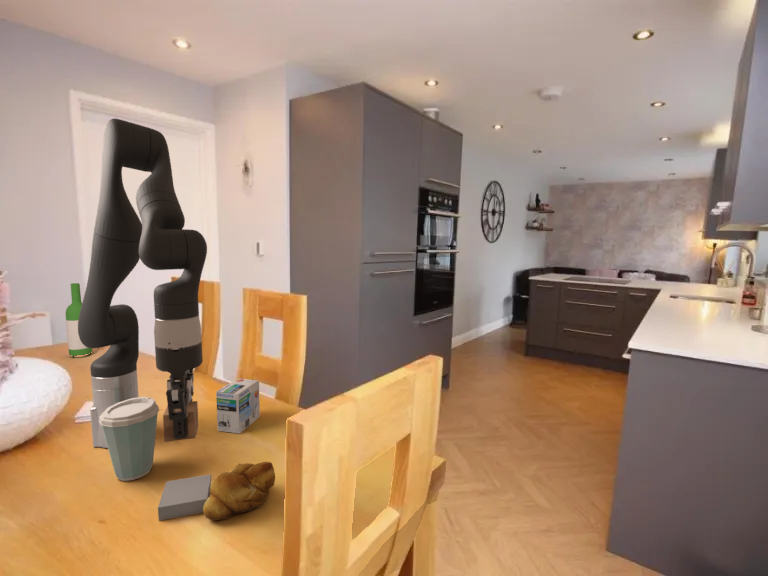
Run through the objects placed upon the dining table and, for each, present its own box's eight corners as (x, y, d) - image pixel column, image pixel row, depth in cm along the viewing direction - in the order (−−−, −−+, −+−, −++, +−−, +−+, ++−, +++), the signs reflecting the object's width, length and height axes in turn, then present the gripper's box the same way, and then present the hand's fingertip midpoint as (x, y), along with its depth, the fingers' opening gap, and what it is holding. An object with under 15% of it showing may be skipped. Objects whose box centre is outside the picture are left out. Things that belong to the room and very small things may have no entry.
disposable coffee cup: (119, 494, 78) (113, 421, 76) (93, 476, 83) (87, 407, 82) (172, 468, 87) (168, 402, 85) (145, 453, 92) (141, 391, 90)
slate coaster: (158, 520, 71) (157, 507, 70) (167, 493, 78) (166, 481, 78) (207, 511, 73) (207, 498, 73) (211, 485, 81) (210, 474, 81)
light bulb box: (240, 434, 102) (238, 394, 101) (216, 431, 103) (214, 391, 102) (260, 416, 112) (260, 379, 111) (239, 413, 114) (238, 377, 112)
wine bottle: (74, 359, 160) (68, 285, 156) (65, 356, 164) (59, 283, 160) (96, 354, 167) (90, 283, 163) (87, 351, 171) (81, 282, 167)
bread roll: (210, 535, 68) (208, 491, 67) (194, 505, 75) (192, 465, 74) (281, 503, 76) (280, 464, 75) (260, 479, 83) (259, 443, 82)
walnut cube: (164, 442, 71) (163, 415, 70) (169, 429, 76) (168, 403, 75) (195, 438, 73) (194, 412, 72) (198, 425, 77) (197, 401, 77)
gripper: (163, 333, 77) (167, 416, 80) (145, 353, 64) (152, 453, 66) (205, 330, 80) (208, 411, 82) (197, 350, 66) (201, 446, 69)
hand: (183, 429), depth 74 cm, fingers closed on walnut cube, 5 cm apart
